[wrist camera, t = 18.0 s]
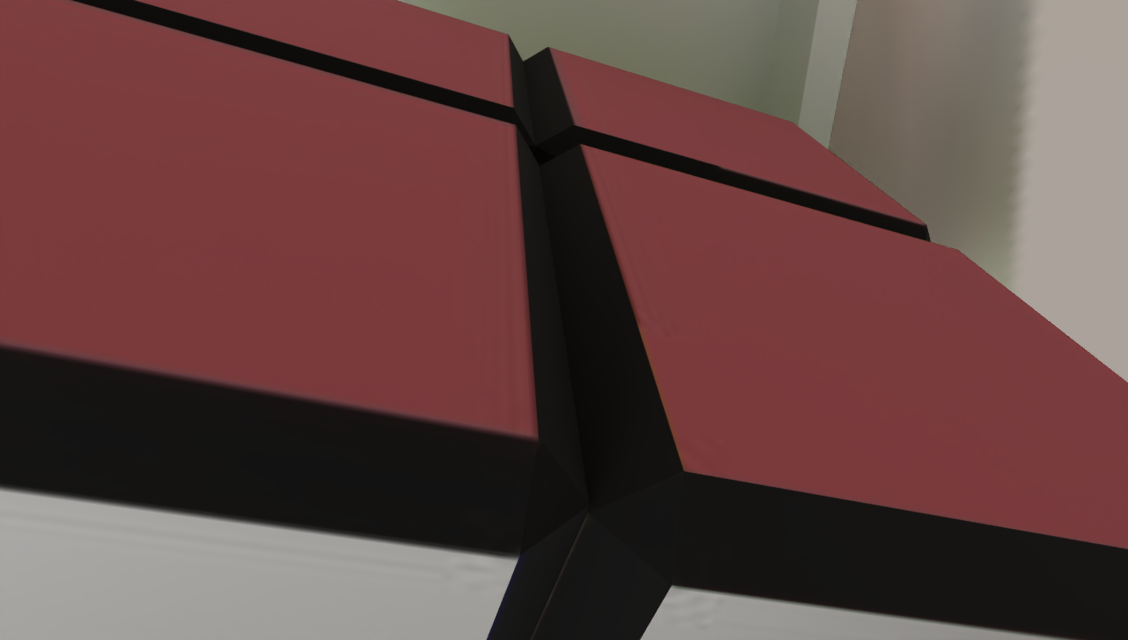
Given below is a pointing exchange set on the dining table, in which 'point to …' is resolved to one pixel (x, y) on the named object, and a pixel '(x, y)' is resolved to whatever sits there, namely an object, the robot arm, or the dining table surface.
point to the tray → (693, 45)
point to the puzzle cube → (501, 356)
